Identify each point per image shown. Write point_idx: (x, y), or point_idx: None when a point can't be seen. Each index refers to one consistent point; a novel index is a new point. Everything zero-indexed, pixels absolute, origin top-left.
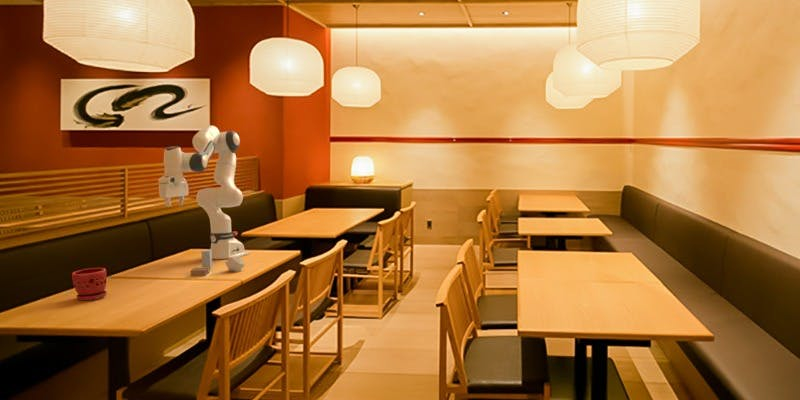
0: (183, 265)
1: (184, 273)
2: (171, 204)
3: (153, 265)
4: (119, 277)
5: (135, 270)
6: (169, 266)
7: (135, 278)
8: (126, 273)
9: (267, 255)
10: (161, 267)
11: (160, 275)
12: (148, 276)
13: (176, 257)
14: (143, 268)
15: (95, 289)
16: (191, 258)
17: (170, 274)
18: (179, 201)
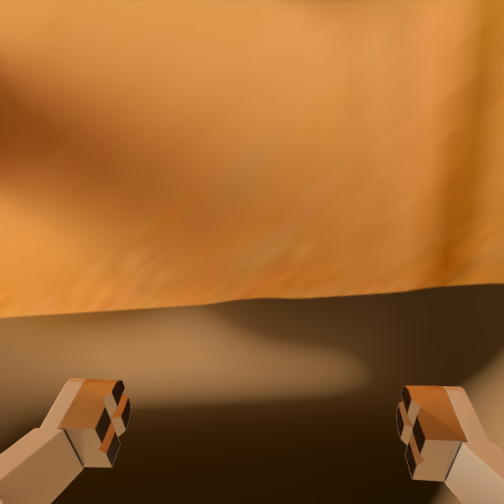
0: (169, 166)
1: (352, 16)
2: (418, 416)
3: (210, 285)
4: (449, 264)
5: (313, 289)
6: (209, 213)
7: (475, 191)
8: (371, 285)
9: None
10: (237, 232)
11: (409, 120)
12: (432, 163)
13: (44, 299)
14: (272, 285)
15: None
16: (26, 232)
17: (383, 83)
18: (75, 467)
